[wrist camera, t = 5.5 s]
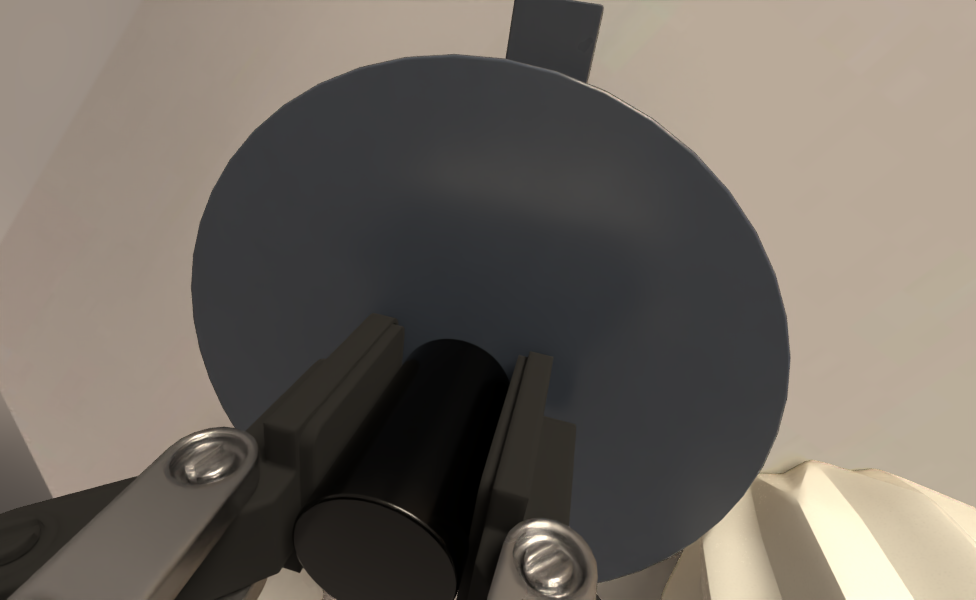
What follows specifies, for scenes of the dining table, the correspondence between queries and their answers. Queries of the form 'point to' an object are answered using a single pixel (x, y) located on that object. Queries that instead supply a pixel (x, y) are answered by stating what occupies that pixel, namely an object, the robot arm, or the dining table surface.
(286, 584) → the mug
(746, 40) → the dining table surface
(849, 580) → the vase
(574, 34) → the pot
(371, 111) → the lid
